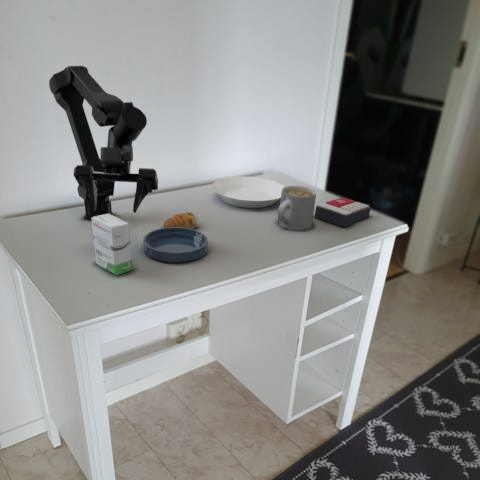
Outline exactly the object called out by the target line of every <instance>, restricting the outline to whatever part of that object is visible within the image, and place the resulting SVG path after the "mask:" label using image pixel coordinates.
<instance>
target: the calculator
mask: <svg viewBox="0 0 480 480" xmlns="http://www.w3.org/2000/svg"><path fill="white" fill-rule="evenodd" d="M371 209H372V208H371V206H370V205H369V204H366V203H362V202H359V201H355V200H353V199H349V198H346V197H339V198H335V199H332V200H328V201H325V202H323V203H320V204H317V205H316V206H315V209H314V215H313V218H316V219H318V220H320V221H324V222H327V223H330V224H333V225H336V226H339V227H341V228H346V227H349V226H351V225H352V224H353V223H355V222H358V221H361V220H363V219H366V218H368V217H370V213H371Z"/></svg>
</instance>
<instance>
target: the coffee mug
mask: <svg viewBox="0 0 480 480" xmlns="http://www.w3.org/2000/svg"><path fill="white" fill-rule="evenodd" d="M316 199H317V191H316V190H315V189H313V188H312V187H308V186H303V185H287V186H285V187H284V188H283V189H282V192H281V198H280V203H279V207H278V210H277V218H278V222H277V223H278V225H279V226H280V227H281V228H283V229H286V230H291V231H306V230H310V229H311V228H312V227H313V226H312V225H313V219H314V214H315V207H316V206H315V205H316Z"/></svg>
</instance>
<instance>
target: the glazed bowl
mask: <svg viewBox="0 0 480 480" xmlns="http://www.w3.org/2000/svg"><path fill="white" fill-rule="evenodd" d="M142 244H143V251H144V253H145V254H146V255H147V256H149V257H150V258H152V259H155V260H157V261H160V262H164V263H178V264H179V263H189V262H192V261H194V260H198V259H200V258H202V257H204V256H205V255H206V254H207V252H208V250H209V240H208V236H207V235H206V234H204V233H203V232H202V231H200V230H197V229H195V228H194V229H190V228H183V227H167V228H163V227H160V228H157V229H153V230H151V231H149V232H147V233H146V234H145V235H143V240H142Z"/></svg>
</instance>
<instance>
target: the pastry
mask: <svg viewBox="0 0 480 480" xmlns="http://www.w3.org/2000/svg"><path fill="white" fill-rule="evenodd" d="M197 226H198V221H197V219H196V216H195V214H194V213H193V212H192V211H191V212H189V211H186V212H185V213H184V212H182V213H176V214H174V215H173V216H171V217H169V218H167V219H166V220H164V221H163V225H162V228H167V227H183V228H190V229H194V230H195V229H196V228H197Z"/></svg>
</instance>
